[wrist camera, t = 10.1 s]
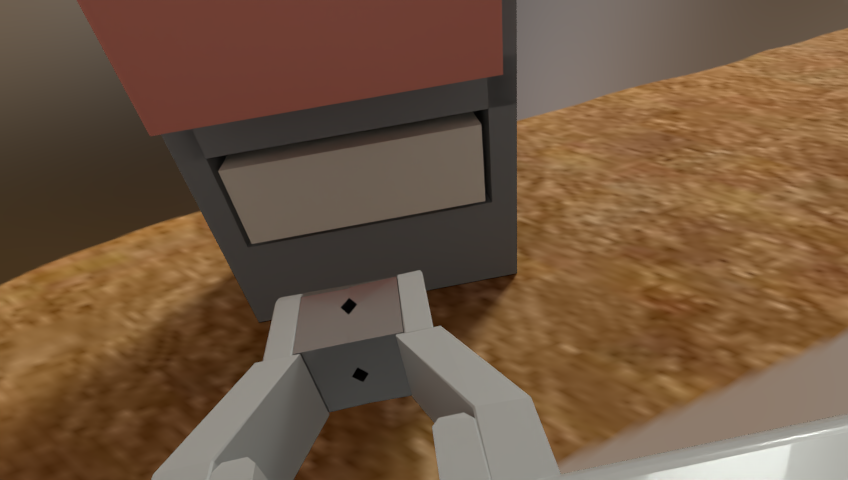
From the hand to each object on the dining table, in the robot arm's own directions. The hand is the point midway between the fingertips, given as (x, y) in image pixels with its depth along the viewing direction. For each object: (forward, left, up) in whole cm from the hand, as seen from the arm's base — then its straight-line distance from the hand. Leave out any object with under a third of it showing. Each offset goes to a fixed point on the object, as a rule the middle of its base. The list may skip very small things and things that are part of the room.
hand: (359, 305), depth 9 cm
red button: (0, -7, +3) cm, 8 cm away
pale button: (0, -10, -3) cm, 11 cm away
